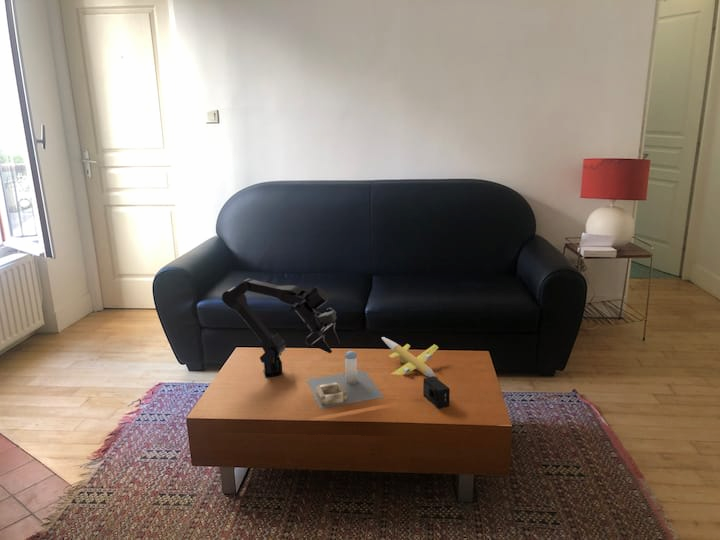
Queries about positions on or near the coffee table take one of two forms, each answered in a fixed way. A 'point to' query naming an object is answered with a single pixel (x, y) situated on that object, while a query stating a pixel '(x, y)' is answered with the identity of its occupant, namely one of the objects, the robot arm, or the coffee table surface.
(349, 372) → the blue-domed white cylinder
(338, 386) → the cradle
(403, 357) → the toy airplane
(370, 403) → the coffee table surface
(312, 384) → the jig board
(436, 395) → the digital camera
